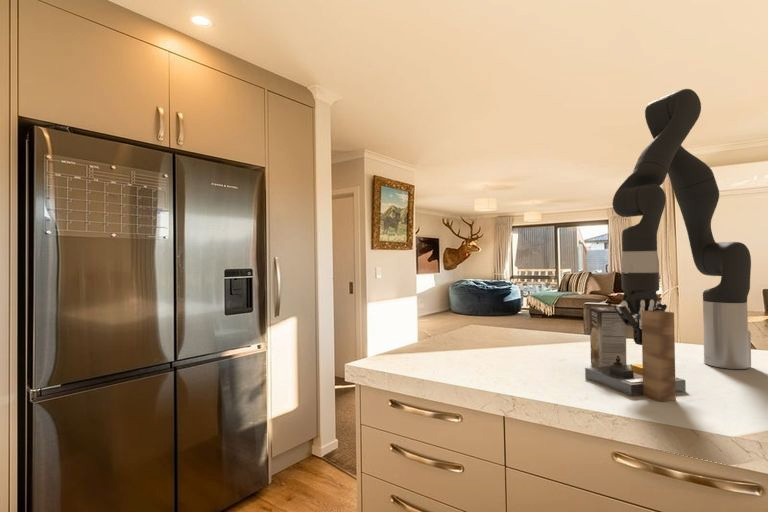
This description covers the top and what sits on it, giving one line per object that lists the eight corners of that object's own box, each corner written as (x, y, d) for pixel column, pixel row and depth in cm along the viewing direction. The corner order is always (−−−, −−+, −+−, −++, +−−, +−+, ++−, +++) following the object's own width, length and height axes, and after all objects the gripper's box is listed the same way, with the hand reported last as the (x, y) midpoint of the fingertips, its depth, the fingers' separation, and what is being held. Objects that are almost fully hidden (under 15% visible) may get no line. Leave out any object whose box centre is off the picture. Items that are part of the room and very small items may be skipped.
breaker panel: (633, 376, 102) (633, 358, 102) (685, 393, 89) (685, 373, 89) (585, 380, 100) (585, 362, 100) (631, 399, 86) (630, 378, 86)
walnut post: (658, 394, 87) (657, 310, 87) (675, 400, 83) (674, 312, 84) (643, 395, 86) (641, 311, 87) (659, 401, 83) (657, 313, 83)
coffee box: (589, 364, 112) (588, 306, 112) (614, 365, 111) (613, 306, 111) (600, 373, 103) (599, 310, 103) (628, 374, 102) (627, 310, 102)
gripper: (650, 269, 101) (651, 340, 100) (603, 270, 98) (605, 342, 98) (677, 270, 93) (679, 346, 93) (628, 271, 91) (629, 349, 90)
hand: (641, 344), depth 95 cm, fingers closed
